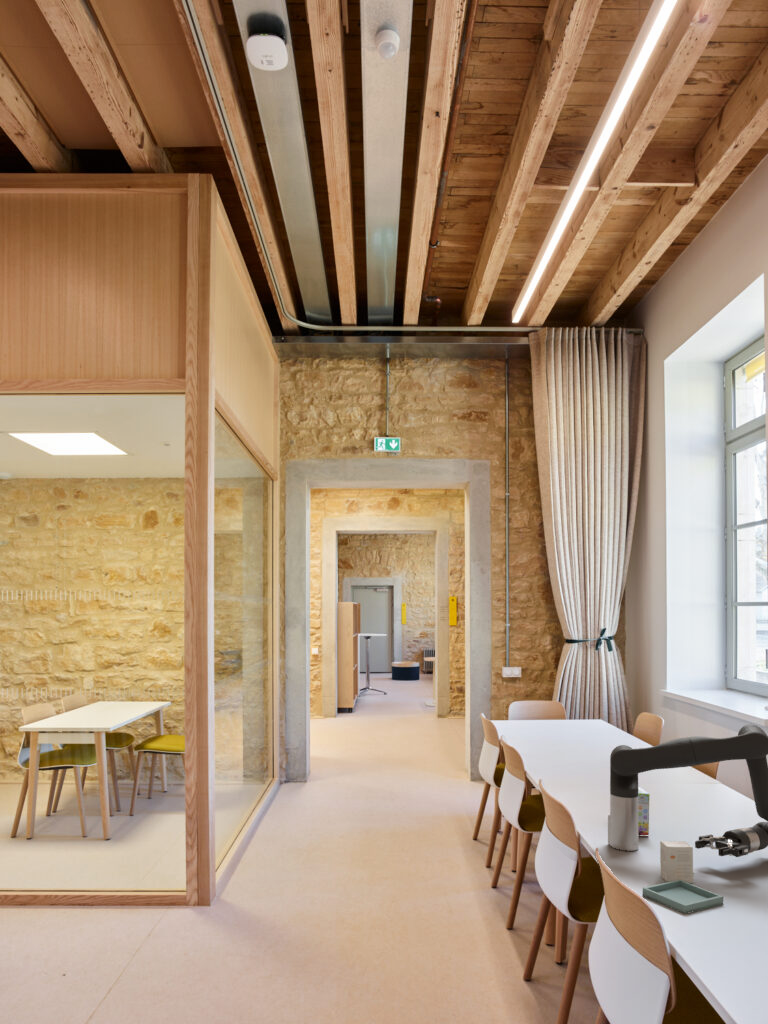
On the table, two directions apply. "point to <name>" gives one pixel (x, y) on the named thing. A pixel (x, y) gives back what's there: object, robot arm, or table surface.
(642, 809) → the snack box
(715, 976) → the table surface
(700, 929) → the table surface
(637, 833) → the robot arm
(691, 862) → the small box
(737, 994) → the table surface
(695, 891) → the tray
